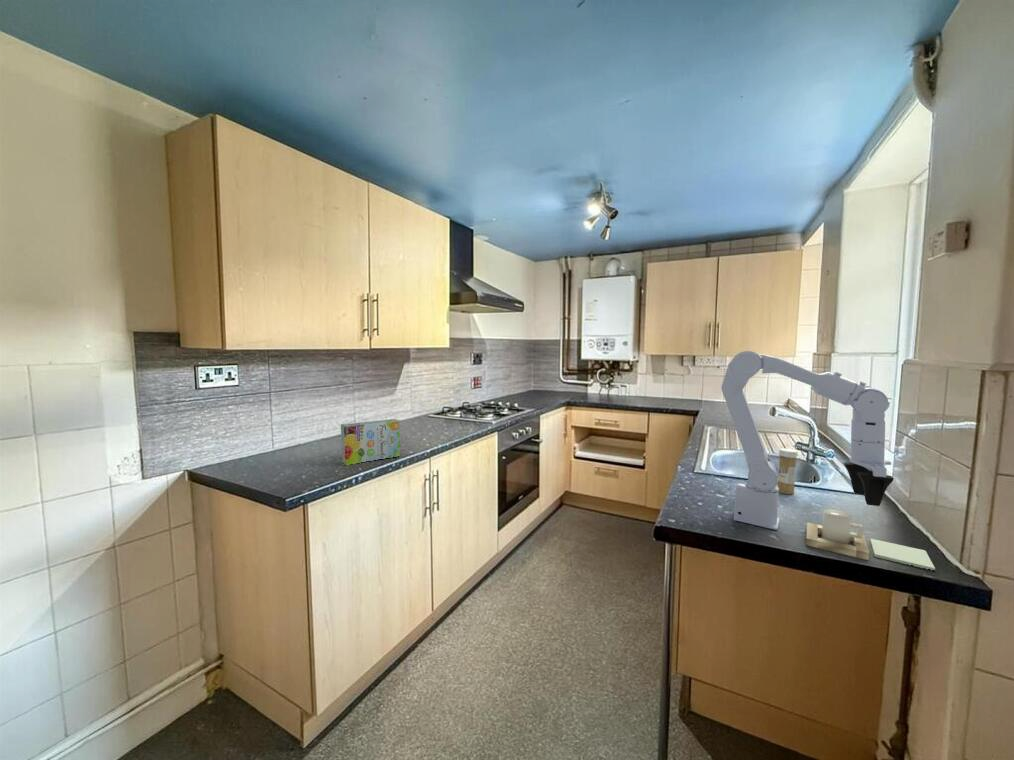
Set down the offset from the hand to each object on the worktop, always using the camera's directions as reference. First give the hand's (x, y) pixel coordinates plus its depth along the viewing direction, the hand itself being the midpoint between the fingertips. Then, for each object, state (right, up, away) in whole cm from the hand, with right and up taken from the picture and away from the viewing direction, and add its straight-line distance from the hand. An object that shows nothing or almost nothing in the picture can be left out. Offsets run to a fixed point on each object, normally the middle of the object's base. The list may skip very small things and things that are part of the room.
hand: (866, 499), depth 92 cm
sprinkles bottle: (+4, -8, +33) cm, 34 cm away
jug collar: (-7, -10, 0) cm, 12 cm away
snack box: (-135, -4, +65) cm, 150 cm away
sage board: (+3, -11, -5) cm, 12 cm away
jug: (-7, -10, 0) cm, 12 cm away
